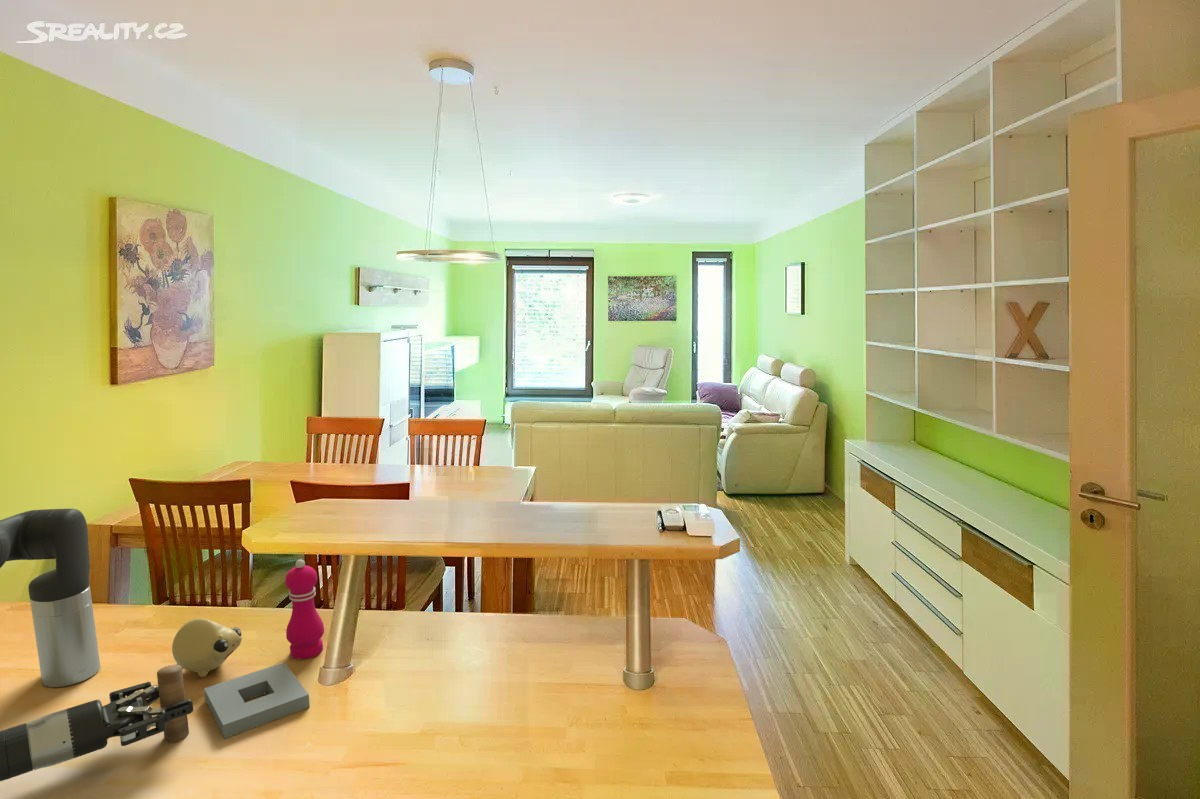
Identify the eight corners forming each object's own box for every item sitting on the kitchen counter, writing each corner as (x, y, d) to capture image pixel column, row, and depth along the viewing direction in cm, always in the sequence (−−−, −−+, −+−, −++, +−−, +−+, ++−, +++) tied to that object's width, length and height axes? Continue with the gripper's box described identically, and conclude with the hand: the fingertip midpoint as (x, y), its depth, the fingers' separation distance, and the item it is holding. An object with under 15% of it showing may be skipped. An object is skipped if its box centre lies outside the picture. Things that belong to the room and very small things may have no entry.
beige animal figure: (223, 685, 137) (218, 633, 136) (163, 682, 139) (157, 630, 137) (252, 658, 147) (248, 609, 145) (197, 655, 148) (192, 606, 146)
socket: (205, 700, 133) (204, 688, 132) (285, 674, 141) (284, 662, 141) (224, 738, 122) (223, 725, 122) (309, 707, 131) (308, 694, 130)
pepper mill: (297, 642, 153) (290, 552, 150) (331, 642, 153) (324, 553, 150) (281, 660, 146) (273, 566, 143) (316, 661, 146) (310, 567, 142)
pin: (162, 734, 123) (155, 669, 121) (186, 726, 125) (179, 662, 123) (166, 745, 120) (158, 678, 118) (191, 736, 123) (183, 671, 120)
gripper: (68, 735, 106) (195, 693, 117) (60, 691, 117) (177, 657, 128) (74, 780, 108) (199, 735, 118) (66, 733, 119) (181, 696, 129)
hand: (187, 695), depth 123 cm, fingers open, 7 cm apart
